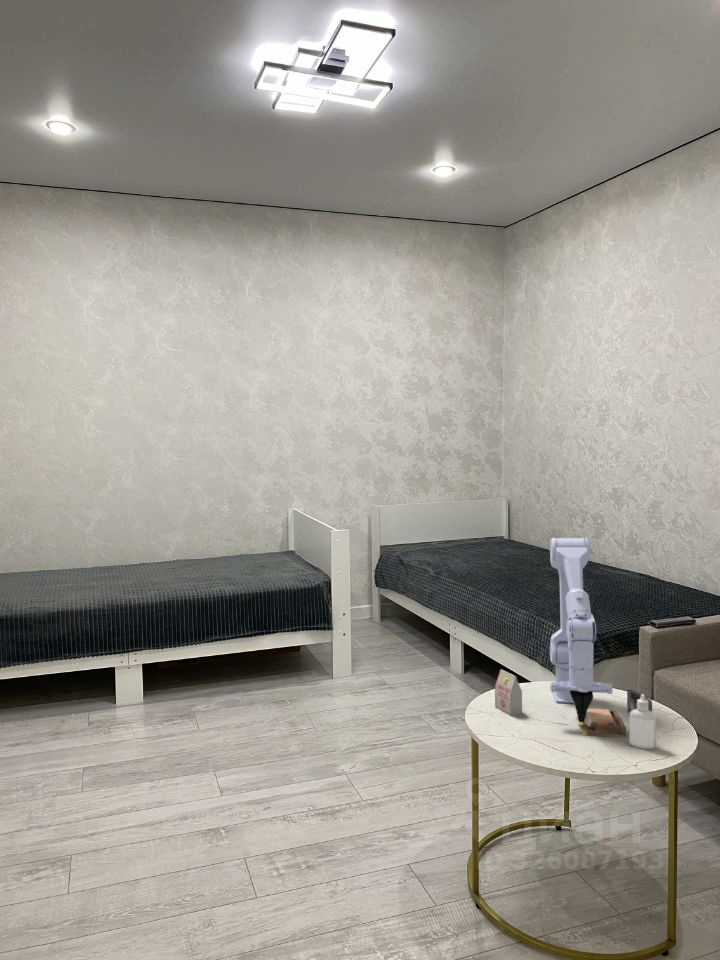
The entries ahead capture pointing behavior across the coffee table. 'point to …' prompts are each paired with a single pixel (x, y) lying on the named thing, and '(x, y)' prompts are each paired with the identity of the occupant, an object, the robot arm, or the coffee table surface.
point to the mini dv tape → (635, 701)
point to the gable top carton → (508, 694)
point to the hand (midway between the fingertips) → (581, 720)
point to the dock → (605, 727)
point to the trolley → (598, 718)
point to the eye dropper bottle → (642, 726)
